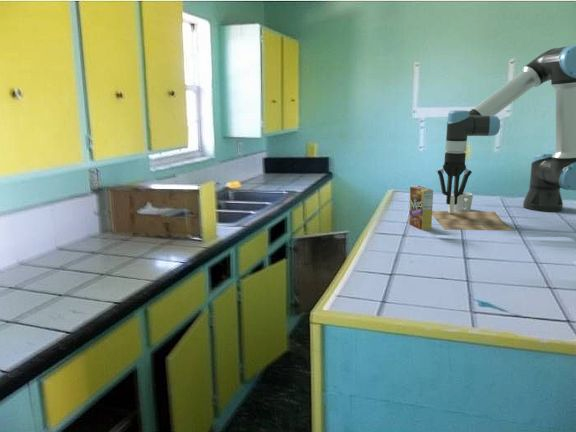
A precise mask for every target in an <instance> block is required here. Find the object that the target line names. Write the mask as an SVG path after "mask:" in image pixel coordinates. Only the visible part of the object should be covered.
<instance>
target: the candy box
mask: <svg viewBox="0 0 576 432" xmlns="http://www.w3.org/2000/svg"><path fill="white" fill-rule="evenodd" d="M433 199H434V190H433V189H431V188H427V187H424V186H420V185H412V186H410V187H409V211H408V213H409V215H408V217H409V219H408V225H409V226H412V227H414V228H416V229H419V230H421V231H423V230H424V231H426V230H427V231H428V230H431V229H432V220H433V215H432V211H433Z"/></svg>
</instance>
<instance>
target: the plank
mask: <svg viewBox="0 0 576 432" xmlns="http://www.w3.org/2000/svg"><path fill="white" fill-rule="evenodd" d="M432 217H433V218H434V219H435V220H436V219H475V220H502V219H501V217H500V216H499V215H498V214H497V212H496V211H468V212H466V211H454V213H449V212H448V210H447V211H446V210H444V211H443V210H441V211H440V210H432Z"/></svg>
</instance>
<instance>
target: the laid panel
mask: <svg viewBox="0 0 576 432" xmlns="http://www.w3.org/2000/svg"><path fill="white" fill-rule="evenodd" d="M435 220H436V222H437V223H439V225H440V226H441V227H442V229H443V230H451V231H452V230H454V231H509V232H510V231H512V232H513V231H516V229H514V228H513V227H512V226H511V225H509V224H507V222H505V221H504V220H502V219H501V220H479V219H435Z"/></svg>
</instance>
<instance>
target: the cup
mask: <svg viewBox="0 0 576 432" xmlns="http://www.w3.org/2000/svg"><path fill="white" fill-rule="evenodd" d="M451 196H454V195H453V193H451ZM473 197H474V194H473V193H471V192H465V191H464V192H463V194H462V195H459V196H458V197H457V204H456V205H454V211H466V212H471V209H472V203H473Z"/></svg>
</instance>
